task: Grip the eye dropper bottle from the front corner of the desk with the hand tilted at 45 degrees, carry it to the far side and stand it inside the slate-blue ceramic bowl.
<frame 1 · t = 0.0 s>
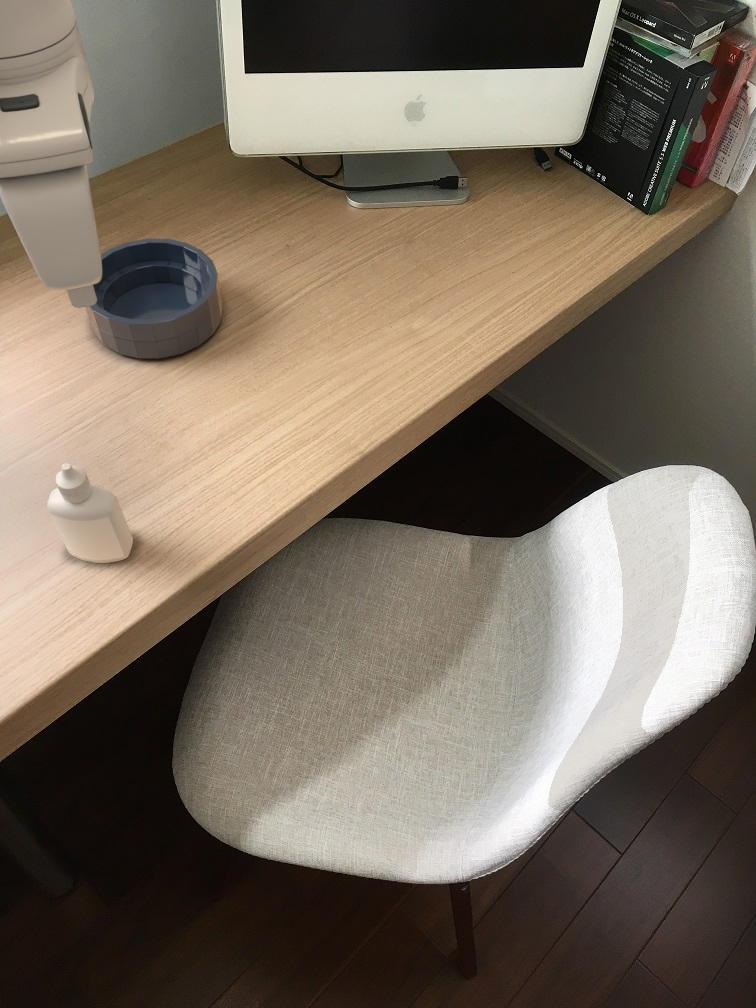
hand: (75, 261, 60), 23 cm above the table, tool pointing down, fingers open, 8 cm apart
bowl: (158, 318, 90), on the table
eye dropper bottle: (102, 549, 72), on the table
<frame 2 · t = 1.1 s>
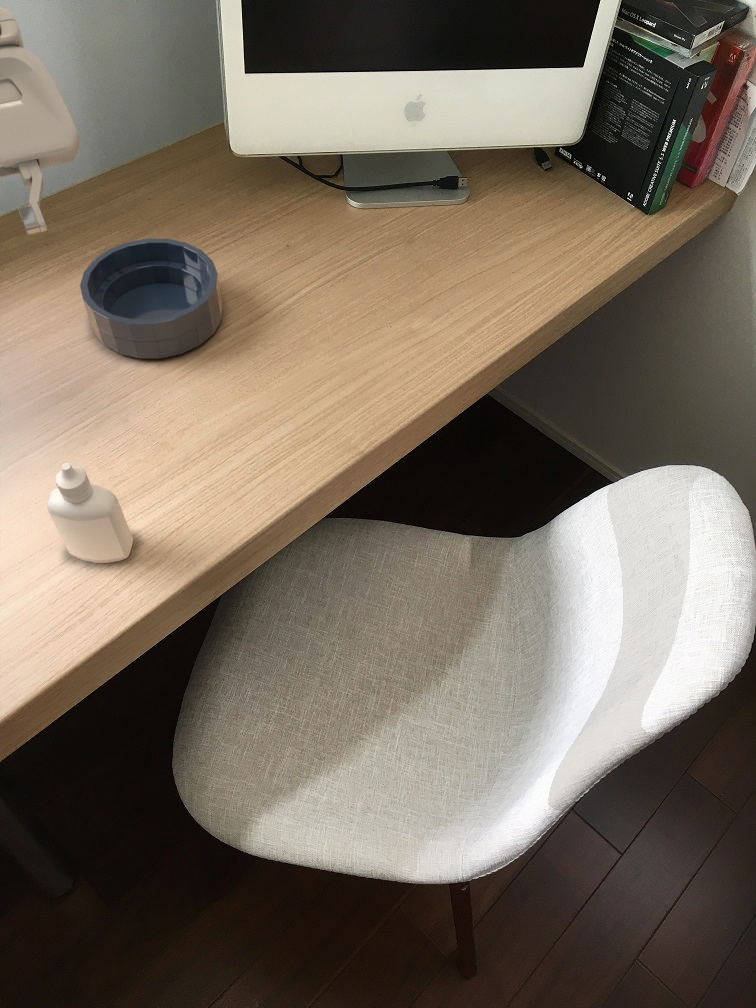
nothing on the table moved.
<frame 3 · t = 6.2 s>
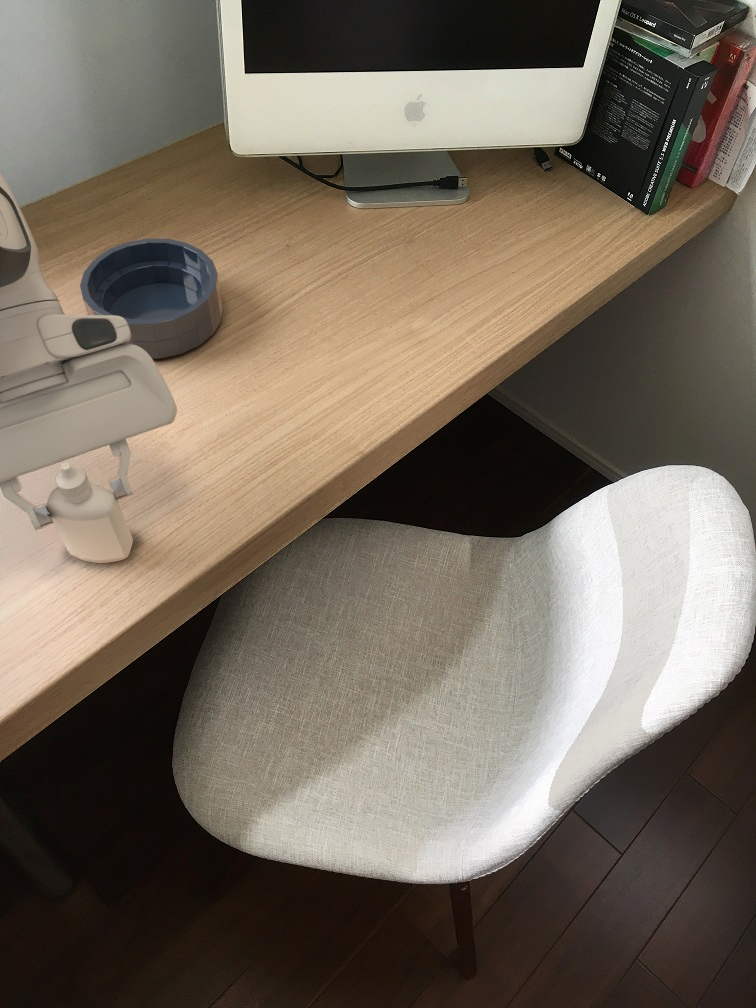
hand: (86, 511, 66), 7 cm above the table, tool tilted 45°, fingers closed on eye dropper bottle, 5 cm apart
eye dropper bottle: (102, 549, 72), on the table, touching gripper
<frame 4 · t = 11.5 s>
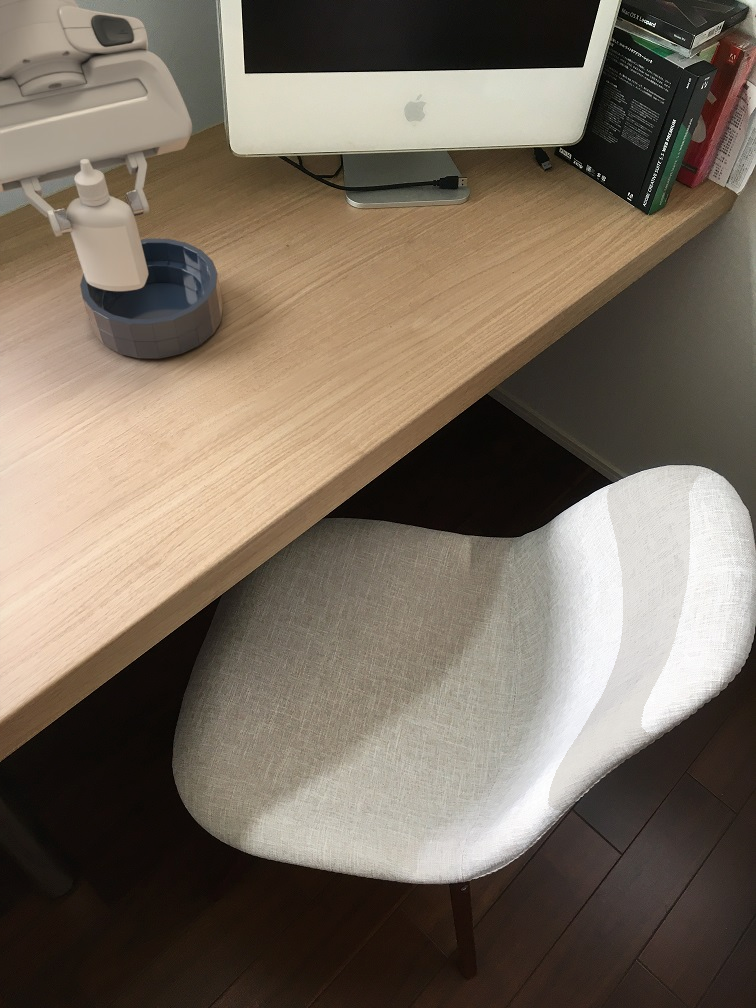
hand: (103, 223, 68), 20 cm above the table, tool tilted 45°, fingers closed on eye dropper bottle, 5 cm apart
eye dropper bottle: (118, 282, 74), point 13 cm above the table, touching gripper
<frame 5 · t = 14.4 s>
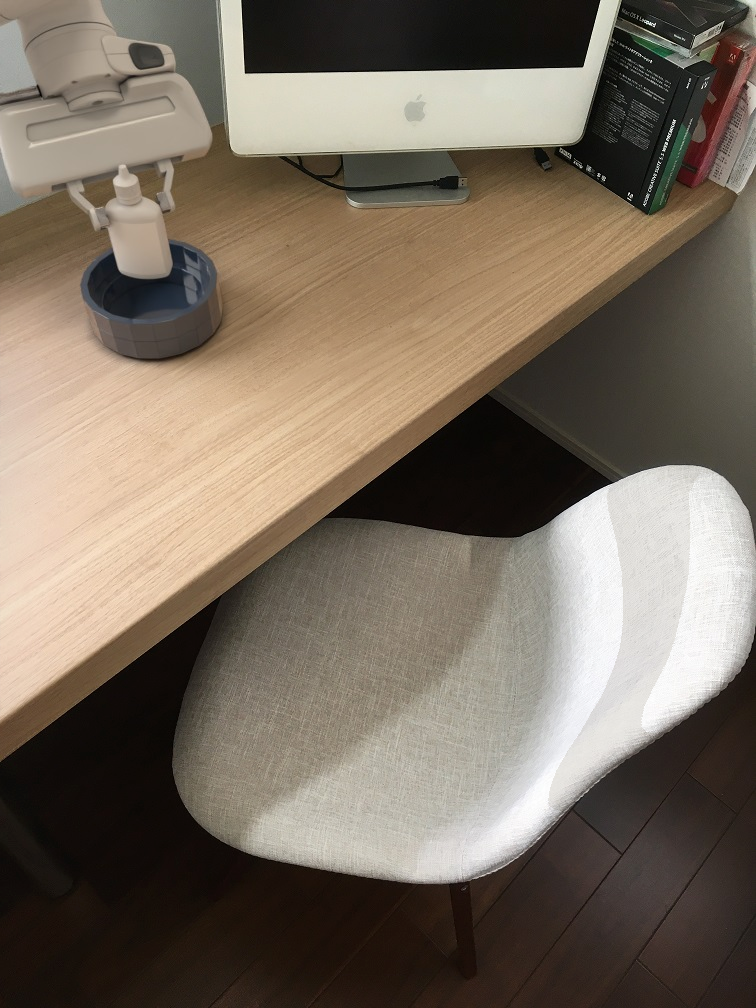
hand: (136, 219, 79), 13 cm above the table, tool tilted 45°, fingers closed on eye dropper bottle, 5 cm apart
eye dropper bottle: (146, 271, 85), point 7 cm above the table, touching gripper
when the fingers open (7 cm above the table, at t = 16.7 s): eye dropper bottle stays where it is, resting on bowl.
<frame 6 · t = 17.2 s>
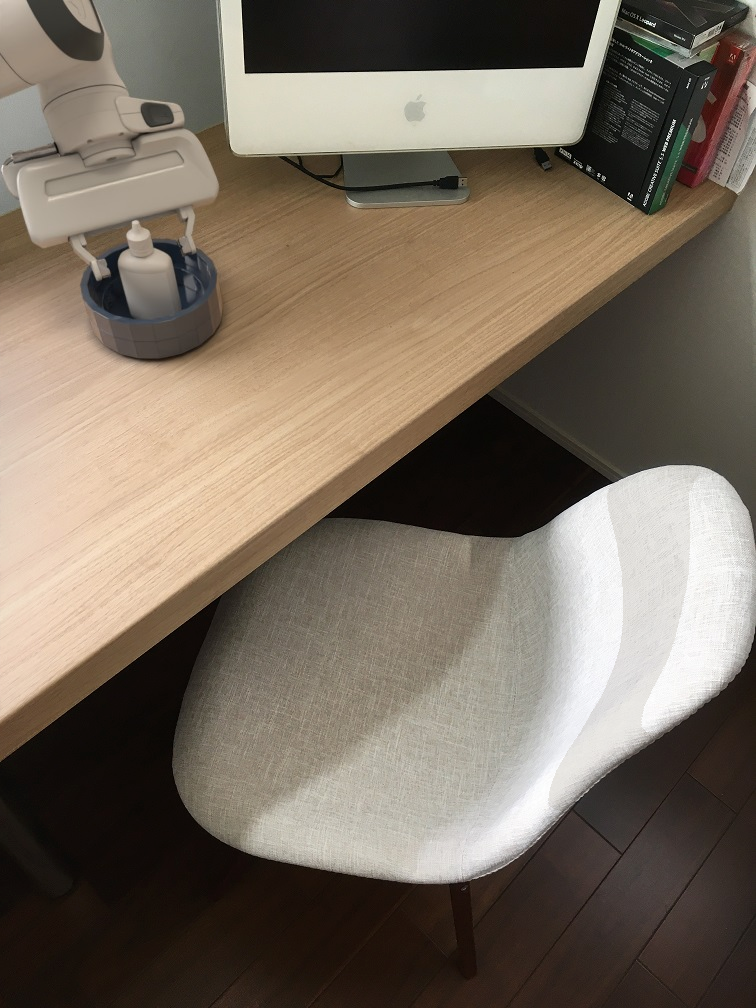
hand: (147, 266, 84), 8 cm above the table, tool tilted 45°, fingers open, 8 cm apart
eye dropper bottle: (157, 315, 90), resting on bowl
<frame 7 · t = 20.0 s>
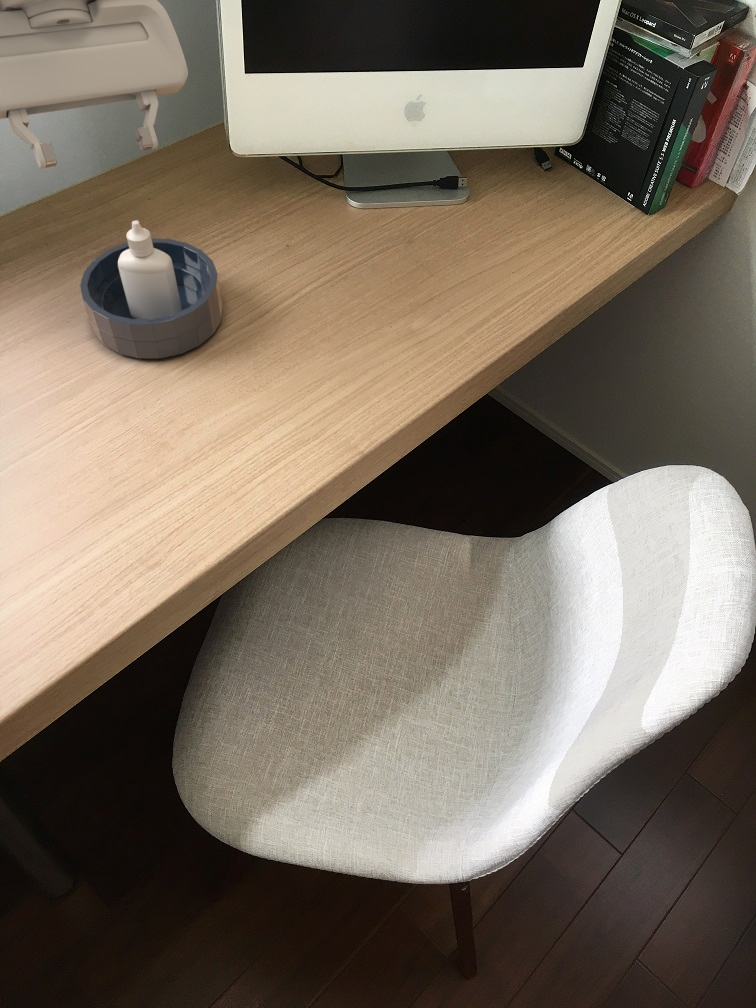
hand: (100, 157, 73), 21 cm above the table, tool tilted 40°, fingers open, 8 cm apart
nothing on the table moved.
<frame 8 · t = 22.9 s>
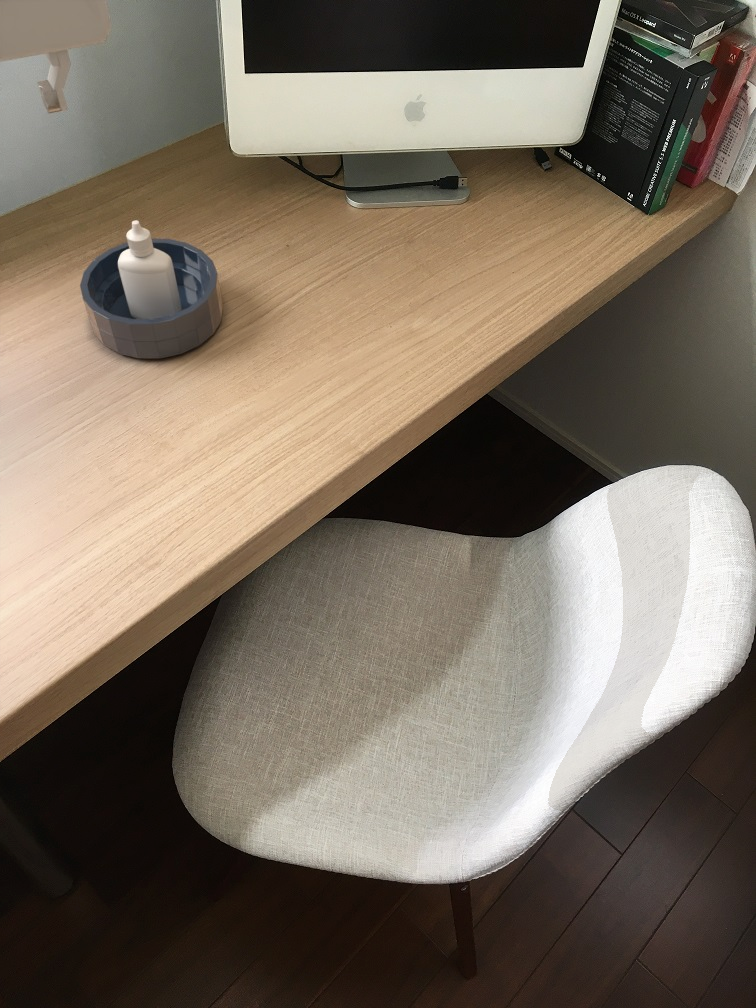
nothing on the table moved.
at the end: eye dropper bottle inside the target area in the bowl (0.1 cm from its centre), point 0.4 cm above the bowl's base; the gripper is holding nothing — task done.
